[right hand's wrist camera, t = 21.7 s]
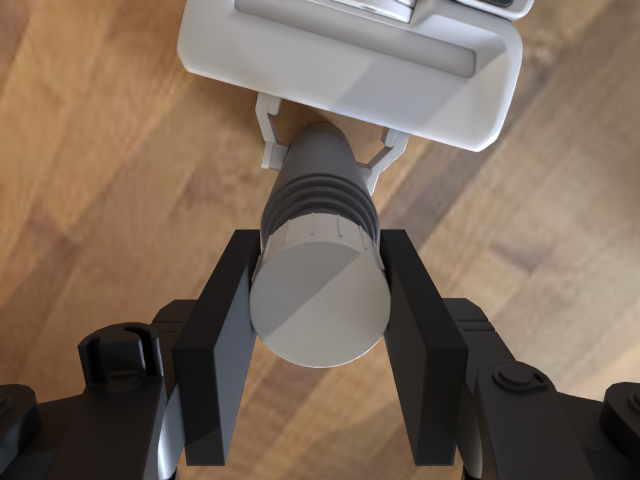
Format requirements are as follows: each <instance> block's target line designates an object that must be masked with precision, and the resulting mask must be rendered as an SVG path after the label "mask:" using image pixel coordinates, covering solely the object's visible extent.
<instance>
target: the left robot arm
mask: <svg viewBox="0 0 640 480" xmlns="http://www.w3.org/2000/svg"><path fill="white" fill-rule="evenodd" d="M533 2H534V0H187V3H186V6H185V10H184V14H183V18H182V22H181V27H180V31H179V36H178V42H177V53H178V55H179V58H180V60H181V62H182V64H183V65H184V67H185V69H186V70H187V71H188V72H191V73H194V74H198V75H202V76H205V77H209V78H212V79H216V80H220V81H223V82H227V83H230V84H234V85H238V86H241V87H245V88H248V89H252V90H255V91H259V94H258V99H257V103H256V108H255V112H256V115H257V118H258V121H259V125H260V128H261V131H262V134H263V137H264V141H266V146H265V150H264V155H263V159H262V164H261V167H263V168H266V169H270V170H275V171H279V172H280V170H281V167H282V165H283V162H284V160H285V157H286V155H287V153H288V150H289V146H290V144H289V143H286V142H283V141H279V139H278V136H277V132H276V128H275V125H274V121H273V118H272V115H276V114H278V113H279V112H280V109H281V105H282V100H283V98H284V99H288V100H291V101H295V102H299V103H302V104H306V105H309V106H313V107H316V108H320V109H324V110H327V111H331V112H334V113H338V114H342V115H345V116H349V117H352V118H356V119H360V120H363V121H367V122H370V123H374V124H377V125H381V126H384V129H383V132H382V136H381V141H382V142H383V143H384V145H385V147H384V148H383V149H382V150H381V151H380V152H379V153H378V154H377V155H376V156H375V157H374V158H373V159H372V160H371V161H370V162H369V163H368V164H364V163H360V162H357V164H358V167H359V169H360V172H361V174H362V177H363V179H364V181H365V184H366V186H367V189H368V191H369V194H370V196H371V195H372V194H373V191H374V188H375V185H376V182H377V179H378V176H379V172H382V171H383V170H385V169H386V168H387V167H388V166H389V165H390V164H391V163H392V162H393V161H394V160H395V159H397V158H398V157H399V156H400V155H401V154H402V153H403V152H404V150H405V147H406V145H407V142H408V139H409V136H410V134H413V135H417V136H420V137H424V138H428V139H431V140H435V141H438V142H442V143H446V144H449V145H453V146H456V147H460V148H464V149H467V150H471V151H474V152H479V151H481V150H483V149H484V148H486V147H487V146H488V145H490V144H491V143H493V142H494V141H495V140H496V138H497V137H498V135H499V133H500V130H501V128H502V125H503V123H504V120H505V117H506V115H507V112H508V109H509V106H510V103H511V100H512V96H513V93H514V89H515V86H516V82H517V78H518V74H519V70H520V66H521V61H522V51H523V48H522V40H521V37H520V34H519V32H518V30H517V29H516V27H515V26H514V25H513V24H512V23H511V22H512V21H515V20H517V19H519V18H521V17H523V16H524V15H526V14H527V13H528V11H529V10H530V8H531V6H532V4H533Z"/></svg>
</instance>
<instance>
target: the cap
mask: <svg viewBox="0 0 640 480" xmlns="http://www.w3.org/2000/svg"><path fill="white" fill-rule="evenodd" d="M384 270H385V268H384V265H383V262H382V259H381V256H380V253H379V250H378V247H377V244H376V243H375V244H374V243H373V241H372V240H371V238H370V237H369V235H368V234H367V233H366V232H365V231H364V230H363V229H362V227H361V226H358V225H357V224H355V223H353V222H352V221H350V220H348V219H346V218H343V217H340V215H333V214H326V213H315V214H314V213H312V214H308V215H303V216H300V217H297V218H295V219H292V220H288V221H287V223H285V224H284V225H282V226H281V227H280V228H279V229H277V230H276V231H275V232H274V233H273V235H270V236H269V238H268V241H267V243H266V245H265V247H264V249H263V252H262V255H260V256H259V259H258V262H257V265H256V268H255V271H254V274H253V277H252V280H251V283H252V286H251V290H250V293H249V297H250V314H251V322H252V324H253V327H254V329H255V331H256V333H257V335H258V336H259V337H260V339H261V340H262V342H263V343H264V344H265V345H266V346H267V347H268V348H269V349H270V350H272V351H273V352H274V353H275V354H277V355H278V356H280V357H281V358H283V359H285V360H287V361H290V362H292V363H295V364H298V365H302V366H307V367H320V368H324V367H333V366H338V365H342V364H345V363H348V362H351V361H353V360H355V359H357V358H359V357H360V356H362V355H364V354H365V353H366V352H367V351H369V350H370V349H371V348H372V347H373V346H374V345H375V344H376V343H377V342H378V341H379V339H380V338H381V337H382V335H383V333H384V331H385V330H386V328H387V325H388V322H389V318H390V303H391V293H390V288H389V285H388V282H387V279H386V276H385V273H384Z"/></svg>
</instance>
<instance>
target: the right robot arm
mask: <svg viewBox="0 0 640 480" xmlns="http://www.w3.org/2000/svg"><path fill="white" fill-rule="evenodd" d="M379 253H380V256H381V259H382V262H383V265H384V268H385V270H384V273H385V276H386V279H387V282H388V285H389V288H390V293H391V303H390V318H389V322H388V325H387V328H386V330H385V331H384V333H383V334H384V338H385V342H386V347H387V351H388V355H389V359H390V363H391V367H392V371H393V375H394V380H395V384H396V388H397V392H398V396H399V400H400V404H401V408H402V413H403V417H404V421H405V425H406V429H407V433H408V437H409V441H410V446H411V450H412V454H413V458H414V462H415V466H453V465H454V457H455V450H456V444H457V447H458V450H459V452H460V455H461V458H462V460H463V470H462V477H461V480H640V383H632V382H621V383H616V384H612V385H611V386H610V387H609V388H608V389H607V390H606V393H605V397H604V400H603V402H600V401H596V400H591V399H586V398H581V397H576V396H571V395H567V394H564V393H560V392H557V391H556V389H555V386H554V385H553V383H552V382H551V381H550V379H549V378H548V377H547V376H546V375H545V374H544V373H542V372H541V371H539V370H538V369H536V368H535V367H532V366H530V365H528V364H525V363H523V362H519V361H516V359H515V358H514V356H513V355H512V354H511V352H510V351H509V349H508V348H507V346H506V345H505V343H504V342H503V340H502V339H501V337H500V336H499V334H498V333H497V332H495V329H494V327H493V326H492V324H491V323H490V322H488V318H487V317H486V315H485V314H484V313H483V311H482V310H481V308H480V307H478V306H477V305H475V304H474V303H472V302H471V301H469V300H468V299H466V298H441V296H440V294H439V293H438V291H437V289H436V287H435V285H434V283H433V281H432V280H431V278H430V276H429V274H428V272H427V270H426V268H425V267H424V265H423V263H422V261H421V259H420V257H419V255H418V254H417V252H416V250H415V248H414V246H413V244H412V242H411V241H410V239H409V237H408V235H407V233H406V231H405V230H380V250H379ZM260 255H261V244H260V230H235V232H234V234H233V236H232V237H231V239H230V241H229V243H228V245H227V247H226V249H225V250H224V252H223V254H222V256H221V258H220V260H219V262H218V263H217V265H216V267H215V269H214V271H213V273H212V275H211V276H210V278H209V280H208V282H207V284H206V286H205V288H204V289H203V291H202V293H201V295H200V297H199V299H198V300H174V301H172V302H171V303H169V304H168V305H166V306H165V307H163V308H162V309H160V310H159V312H158V313H157V315H156V316H155V318H154V319H153V321H152V323H151V324H150V325H148V324H144V323H140V322H126V323H120V324H115V325H110V326H107V327H105V328H102V329H99V330H97V331H95V332H93V333H92V334H90V335H88V336H87V337H85V338H84V339H83V340H82V341H81V343H80V344H79V345H78V350H79V355H80V360H81V364H82V369H83V373H84V378H85V382H86V387H85V389H84V392H83V394H80V395H77V396H73V397H69V398H64V399H59V400H54V401H50V402H45V403H40V404H38V403H37V399H36V395H35V392H34V391H33V390H32V389H31V388H30V387H29V386H25V385H20V384H9V385H0V480H179V477H178V470H177V464H178V461H179V458H180V455H181V453H182V450H183V447H184V448H185V455H186V462H187V466H225V463H226V459H227V455H228V451H229V447H230V443H231V439H232V434H233V430H234V426H235V422H236V418H237V414H238V410H239V406H240V401H241V397H242V393H243V389H244V385H245V381H246V377H247V372H248V368H249V364H250V360H251V356H252V352H253V348H254V344H255V339H256V335H257V333H256V331H255V329H254V327H253V324H252V322H251V314H250V297H249V293H250V290H251V286H252V283H251V280H252V277H253V274H254V271H255V268H256V265H257V262H258V259H259V256H260Z"/></svg>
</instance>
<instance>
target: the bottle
mask: <svg viewBox="0 0 640 480" xmlns="http://www.w3.org/2000/svg"><path fill="white" fill-rule="evenodd" d="M312 213H314V214H315V213H326V214H333V215H340V217H343V218H346V219H348V220H350V221H352V222H353V223H355V224H357V225H358V226H361V227H362V229H363V230H364V231H365V232H366V233H367V234H368V235H369V237H370V238H371V240H372V241H373V243H374V244H375V243H376V244H377V245H378V239H379V218H378V214H377V211H376V208H375V206H374V203H373V201H372V198H371V196H370V194H369V191H368V189H367V186H366V184H365V181H364V179H363V177H362V174H361V172H360V169H359V167H358V164H357V162H356V160H355V157H354V155H353V152H352V150H351V147H350V145H349V143H348V140H347V138H346V136H345V135H344V134H343V132H342V131H341V130H340V129H339V128H337V127H336V126H334V125H332V124H329V123H325V122H315V123H311V124H308V125H306V126H304V127H303V128H301V129H300V130H299V131H298V132H297V134H296V135H295V137H294V138H293V140H292V143H291V145H290V148H289V150H288V153H287V155H286V157H285V160H284V162H283V165H282V167H281V170H280V172H279V174H278V177H277V179H276V182H275V184H274V187H273V189H272V191H271V194H270V196H269V199H268V201H267V204H266V206H265V208H264V211H263V215H262V219H261V238H262V244H263V248H264V247H265V245H266V243H267V241H268V238H269V236H270V235H273V233H274V232H275V231H276V230H277V229H279V228H280V227H281V226H282V225H284V224H285V223H287V221H288V220H292V219H295V218H297V217H300V216H303V215H308V214H312Z"/></svg>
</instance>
